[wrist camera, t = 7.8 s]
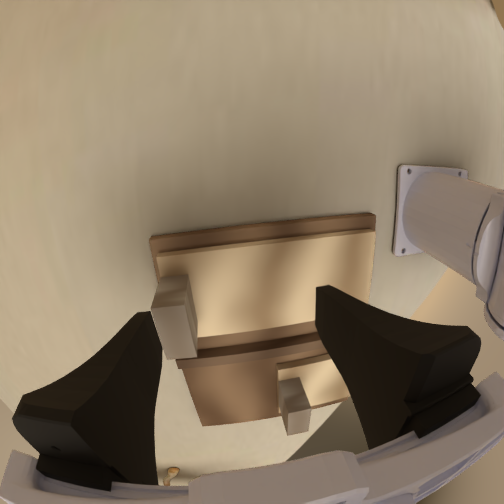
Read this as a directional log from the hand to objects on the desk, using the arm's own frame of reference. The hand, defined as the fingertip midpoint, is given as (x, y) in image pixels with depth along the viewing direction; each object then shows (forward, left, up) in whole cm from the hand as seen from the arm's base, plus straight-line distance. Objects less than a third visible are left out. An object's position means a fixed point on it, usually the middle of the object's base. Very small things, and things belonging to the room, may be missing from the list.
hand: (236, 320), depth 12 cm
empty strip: (-3, +3, -8) cm, 10 cm away
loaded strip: (-11, +15, -8) cm, 21 cm away
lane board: (-3, +10, -9) cm, 14 cm away
